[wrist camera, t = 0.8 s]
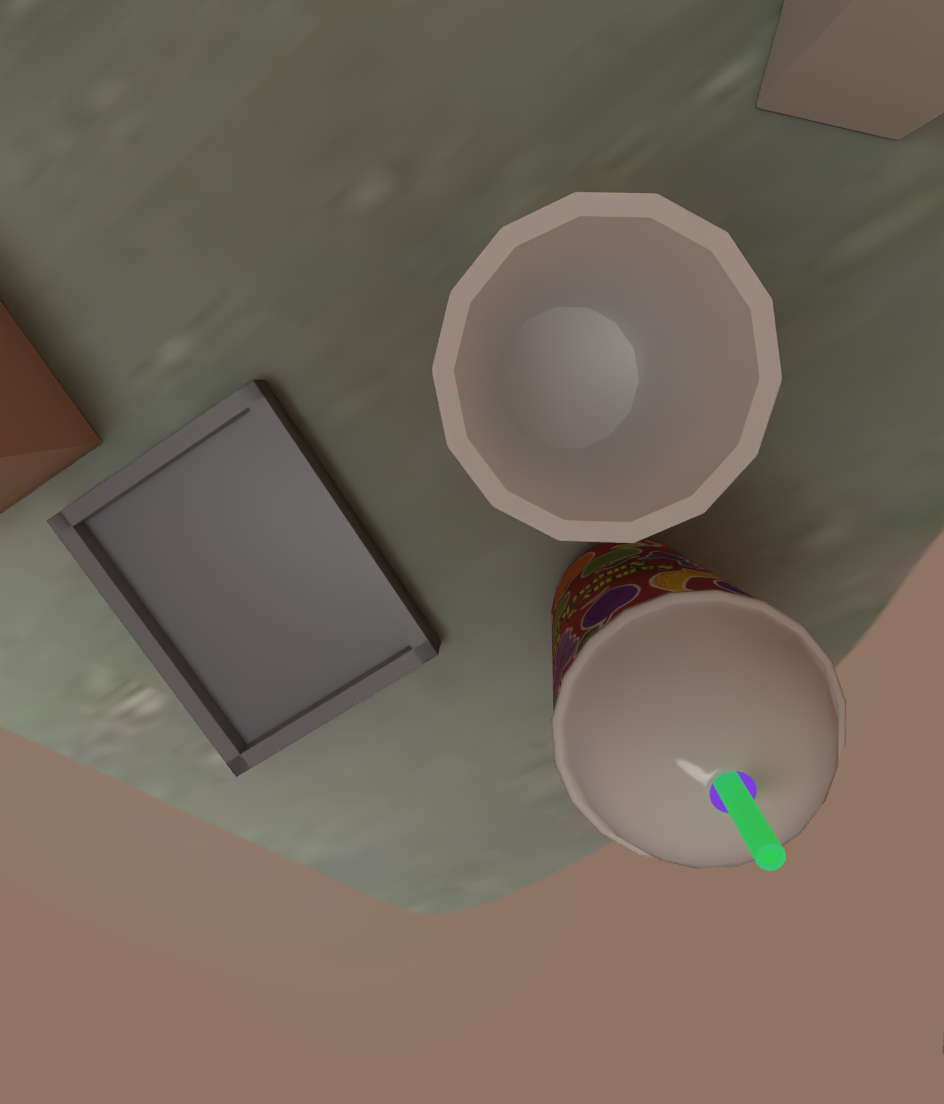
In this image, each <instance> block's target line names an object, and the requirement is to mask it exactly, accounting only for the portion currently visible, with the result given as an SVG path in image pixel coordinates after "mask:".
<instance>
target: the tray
mask: <svg viewBox="0 0 944 1104" xmlns="http://www.w3.org/2000/svg"><path fill="white" fill-rule="evenodd" d="M47 522H48V524H49V525H50V526H51V528H52V529H53V530H54V532H55V533H56V534H57V536H58V537H59V538H60V540H61V541H62V542H63V544H64V545H65V547H66V548H67V549H68V551H69V552H70V553H71V555H72V556H73V557H74V559H75V560H76V561H77V563H78V564H79V565H80V567H81V568H82V569H83V571H84V572H85V574H86V575H87V576H88V578H89V579H90V580H91V582H92V583H93V584H94V586H95V587H96V588H97V590H98V591H99V592H100V594H101V595H102V596H103V598H104V599H105V600H106V602H107V603H108V605H109V606H110V607H111V609H112V610H113V611H114V613H115V614H116V615H117V617H118V618H119V619H120V621H121V622H122V623H123V625H124V626H125V627H126V629H127V630H128V631H129V633H130V634H131V636H132V637H133V638H134V640H135V641H136V642H137V644H138V645H139V646H140V648H141V649H142V650H143V652H144V653H145V654H146V656H147V657H148V658H149V660H150V661H151V663H152V664H153V665H154V667H155V668H156V669H157V671H158V672H159V673H160V675H161V676H162V677H163V679H164V680H165V681H166V683H167V684H168V685H169V687H170V688H171V689H172V691H173V692H174V694H175V695H176V696H177V698H178V699H179V700H180V702H181V703H182V704H183V706H184V707H185V708H186V710H187V711H188V712H189V714H190V715H191V716H192V718H193V719H194V720H195V722H196V723H197V725H198V726H199V727H200V729H201V730H202V731H203V733H204V734H205V735H206V737H207V738H208V739H209V741H210V742H211V743H212V745H213V746H214V747H215V749H216V750H217V752H218V753H219V754H220V756H221V757H222V758H223V760H224V761H225V762H226V764H227V765H228V766H229V768H230V769H231V770H232V772H233V773H234V774H235V776H236V777H237V776H239V775H240V774H242V773H244V772H245V771H247V770H249V769H250V768H252V767H254V766H255V765H257V764H258V763H260V762H262V761H263V760H265V759H267V758H268V757H270V756H272V755H273V754H275V753H277V752H278V751H280V750H282V749H283V748H285V747H287V746H288V745H290V744H292V743H293V742H295V741H296V740H298V739H300V738H301V737H303V736H305V735H306V734H308V733H310V732H311V731H313V730H315V729H316V728H318V727H320V726H321V725H323V724H325V723H326V722H328V721H329V720H331V719H333V718H334V717H336V716H338V715H339V714H341V713H343V712H344V711H346V710H348V709H349V708H351V707H353V706H354V705H356V704H358V703H359V702H361V701H363V700H364V699H366V698H367V697H369V696H371V695H372V694H374V693H376V692H377V691H379V690H381V689H382V688H384V687H386V686H387V685H389V684H391V683H392V682H394V681H396V680H397V679H399V678H401V677H402V676H404V675H405V674H407V673H409V672H410V671H412V670H414V669H415V668H417V667H419V666H420V665H422V664H424V663H425V662H427V661H429V660H430V659H432V658H434V657H435V656H437V655H438V652H439V648H440V643H441V642H440V640H439V639H438V637H437V636H436V634H435V633H434V631H433V630H432V628H431V627H430V625H429V624H428V622H427V621H426V619H425V618H424V616H423V615H422V613H421V612H420V610H419V609H418V607H417V606H416V604H415V603H414V602H413V600H412V599H411V597H410V596H409V594H408V593H407V591H406V590H405V588H404V587H403V585H402V584H401V582H400V581H399V579H398V578H397V576H396V575H395V573H394V572H393V570H392V569H391V567H390V566H389V564H388V563H387V561H386V560H385V558H384V557H383V555H382V554H381V552H380V551H379V549H378V548H377V546H376V545H375V543H374V542H373V540H372V539H371V537H370V536H369V534H368V533H367V531H366V530H365V529H364V527H363V526H362V524H361V523H360V521H359V520H358V518H357V517H356V515H355V514H354V512H353V511H352V509H351V508H350V506H349V505H348V503H347V502H346V500H345V499H344V497H343V496H342V494H341V493H340V491H339V490H338V488H337V487H336V485H335V484H334V482H333V481H332V479H331V478H330V476H329V475H328V473H327V472H326V470H325V469H324V467H323V466H322V464H321V463H320V461H319V460H318V458H317V457H316V456H315V454H314V453H313V451H312V450H311V448H310V447H309V445H308V444H307V442H306V441H305V439H304V438H303V436H302V435H301V433H300V432H299V430H298V429H297V427H296V426H295V424H294V423H293V421H292V420H291V418H290V417H289V415H288V414H287V412H286V411H285V409H284V408H283V406H282V405H281V403H280V402H279V400H278V399H277V397H276V396H275V394H274V393H273V391H272V390H271V388H270V387H269V385H268V384H267V383H266V381H265V380H251V381H250V382H249V383H247V384H246V385H244V386H243V387H241V388H240V389H238V390H237V391H235V392H234V393H232V394H231V395H230V396H228V397H227V398H225V399H224V400H222V401H221V402H219V403H218V404H216V405H215V406H213V407H212V408H211V409H209V410H208V411H206V412H205V413H203V414H202V415H200V416H199V417H197V418H196V419H194V420H193V421H192V422H190V423H189V424H187V425H186V426H184V427H183V428H181V429H180V430H178V431H177V432H175V433H174V434H173V435H171V436H170V437H168V438H167V439H165V440H164V441H162V442H161V443H159V444H158V445H156V446H155V447H154V448H152V449H151V450H149V451H148V452H146V453H145V454H143V455H142V456H140V457H139V458H138V459H136V460H135V461H133V462H132V463H130V464H129V465H127V466H126V467H124V468H123V469H121V470H120V471H119V472H117V473H116V474H114V475H113V476H111V477H110V478H108V479H107V480H105V481H104V482H102V483H101V484H100V485H98V486H97V487H95V488H94V489H92V490H91V491H89V492H88V493H86V494H85V495H83V496H82V497H81V498H79V499H78V500H76V501H75V502H73V503H72V504H70V505H69V506H67V507H66V508H64V509H63V510H62V511H60V512H59V513H57V514H56V515H54V516H53V517H51V518H50V519H48V520H47Z"/></svg>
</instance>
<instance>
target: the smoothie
mask: <svg viewBox="0 0 944 1104" xmlns="http://www.w3.org/2000/svg"><path fill="white" fill-rule="evenodd" d="M552 656H553V710H554V712H553V715H552V734H553V748H554V762H555V765H556V767H557V769H558V772H559V774H560V776H561V779H562V781H563V783H564V786H565V788H566V791H567V793H568V795H569V798H570V800H571V802H572V803H573V804H574V805H575V806H576V807H577V808H578V809H579V810H580V811H581V813H582V814H583V815H584V816H585V817H586V818H587V819H588V820H589V821H590V823H591V824H592V825H593V826H594V827H595V828H596V829H597V830H598V831H599V832H600V833H602V834H603V835H605V836H607V837H608V838H610V839H612V840H614V841H615V842H617V843H619V844H620V845H622V846H624V847H626V848H627V849H629V850H631V851H632V852H634V853H636V854H639V855H643V856H648V857H652V858H657V859H658V860H661V861H666V862H670V863H674V864H679V865H683V866H688V867H692V868H712V867H731V866H740V865H743V864H745V863H748V862H751V861H754V860H755V862H756V863H757V865H759V866H760V867H761V868H762V869H764V870H771V871H774V870H776V869H777V868H779V867H781V866H782V865H783V863H784V862H785V860H786V855H785V850H784V848H783V847H782V846H784V845H785V844H787V843H788V842H790V841H791V840H792V839H794V838H795V837H797V836H798V835H799V834H800V833H801V832H802V831H803V830H804V828H805V827H806V826H807V824H808V823H809V822H810V820H811V819H812V818H813V817H814V815H815V814H816V813H817V811H818V810H819V809H820V807H821V806H822V805H823V804H824V802H825V800H826V798H827V795H828V792H829V789H830V787H831V784H832V781H833V778H834V775H835V773H836V770H837V767H838V763H839V760H840V758H841V755H842V752H843V749H844V746H845V710H846V708H845V707H846V701H845V698H844V695H843V692H842V689H841V686H840V683H839V680H838V678H837V675H836V672H835V669H834V666H833V663H832V660H831V659H830V657H829V656H828V655H827V654H826V652H825V651H824V650H823V649H822V648H821V646H820V645H819V644H818V643H817V642H816V640H815V639H814V638H813V637H812V635H811V634H810V633H809V632H808V631H807V629H806V628H805V627H804V626H803V625H802V624H800V623H799V622H797V621H796V620H794V619H792V618H791V617H789V616H788V615H786V614H784V613H783V612H781V611H779V610H778V609H776V608H775V607H773V606H771V605H770V604H768V603H767V602H765V601H763V600H760V599H755V598H754V597H752V596H750V595H749V594H747V593H745V592H743V591H742V590H740V589H738V588H737V587H735V586H733V585H732V584H730V583H728V582H727V581H725V580H723V579H722V578H720V577H718V576H717V575H715V574H713V573H712V572H710V571H708V570H707V569H705V568H703V567H702V566H700V565H698V564H696V563H695V562H693V561H691V560H690V559H688V558H686V557H685V556H683V555H682V554H680V553H678V552H676V551H675V550H673V549H671V548H669V547H668V546H666V545H664V544H662V543H660V542H656V541H651V540H646V539H642V540H640V541H637V542H635V543H619V542H606V543H604V544H601V545H599V546H597V547H594V548H592V549H590V550H588V551H587V552H586V553H584V554H583V555H582V556H581V557H580V558H579V559H578V560H576V561H575V562H574V563H573V564H572V565H571V566H570V567H569V568H568V570H567V571H566V573H565V575H564V576H563V578H562V580H561V581H560V583H559V585H558V586H557V588H556V593H555V597H554V602H553V606H552Z"/></svg>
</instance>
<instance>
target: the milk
mask: <svg viewBox="0 0 944 1104" xmlns="http://www.w3.org/2000/svg"><path fill="white" fill-rule="evenodd" d="M756 107H757V108H760V109H764V110H768V111H773V112H777V113H781V114H786V115H790V116H794V117H799V118H803V119H807V120H812V121H816V122H820V123H824V124H829V125H833V126H837V127H842V128H846V129H850V130H855V131H859V132H863V133H868V134H872V135H876V136H880V137H885V138H889V139H893V140H899V139H901V138H903V137H905V136H906V135H908V134H910V133H911V132H913V131H914V130H916V129H918V128H919V127H921V126H923V125H924V124H926V123H928V122H929V121H931V120H932V119H934V118H936V117H937V116H939V115H941V114H942V113H944V0H784V3H783V6H782V10H781V14H780V18H779V21H778V25H777V29H776V33H775V36H774V40H773V44H772V47H771V51H770V55H769V59H768V62H767V66H766V70H765V73H764V77H763V81H762V85H761V88H760V92H759V96H758V99H757V103H756Z"/></svg>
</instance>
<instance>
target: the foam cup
mask: <svg viewBox="0 0 944 1104" xmlns="http://www.w3.org/2000/svg"><path fill="white" fill-rule="evenodd" d="M432 374H433V379H434V384H435V389H436V394H437V399H438V404H439V408H440V413H441V418H442V423H443V428H444V433H445V437H446V442H447V447H448V448H449V449H450V451H451V452H452V453H453V455H454V456H455V457H456V459H457V460H458V461H459V462H460V464H461V465H462V466H463V468H464V469H465V470H466V472H467V473H468V474H469V476H470V477H471V478H472V480H473V481H474V482H475V484H476V485H477V486H478V488H479V489H480V490H481V492H482V493H483V494H484V496H485V497H486V498H487V500H488V501H489V502H490V504H491V505H492V506H493V507H495V508H497V509H498V510H500V511H502V512H504V513H506V514H508V515H510V516H512V517H514V518H516V519H518V520H520V521H522V522H524V523H526V524H528V525H530V526H531V527H533V528H535V529H537V530H539V531H541V532H543V533H545V534H547V535H549V536H551V537H553V538H555V539H557V540H559V541H587V542H619V543H635V542H637V541H640V540H642V539H644V538H647V537H649V536H651V535H654V534H656V533H658V532H661V531H663V530H665V529H668V528H670V527H672V526H675V525H677V524H679V523H682V522H684V521H686V520H689V519H691V518H693V517H696V516H698V515H701V514H703V513H705V512H706V510H707V509H708V508H709V507H710V506H711V505H712V504H713V503H714V502H715V501H716V500H717V498H718V497H719V496H720V495H721V494H722V493H723V492H724V491H725V490H726V489H727V488H728V486H729V485H730V484H731V483H732V482H733V481H734V480H735V479H736V478H737V477H738V476H739V474H740V473H741V472H742V471H743V470H744V469H745V468H746V467H747V466H748V465H749V464H750V462H751V461H752V460H753V459H754V458H755V457H756V456H757V455H758V451H759V448H760V445H761V442H762V439H763V436H764V433H765V430H766V427H767V424H768V421H769V418H770V415H771V412H772V409H773V406H774V403H775V399H776V396H777V393H778V390H779V387H780V384H781V381H782V374H781V366H780V358H779V350H778V342H777V334H776V326H775V318H774V310H773V302H772V298H771V297H770V295H769V294H768V292H767V291H766V289H765V288H764V286H763V285H762V283H761V282H760V280H759V279H758V277H757V276H756V274H755V273H754V271H753V270H752V268H751V267H750V265H749V264H748V262H747V261H746V259H745V258H744V256H743V255H742V253H741V252H740V250H739V249H738V247H737V246H736V244H735V243H734V241H733V240H732V238H731V237H730V235H729V234H728V232H726V231H724V230H723V229H721V228H719V227H717V226H715V225H713V224H712V223H710V222H708V221H706V220H704V219H703V218H701V217H699V216H697V215H695V214H693V213H692V212H690V211H688V210H686V209H684V208H683V207H681V206H679V205H677V204H675V203H673V202H672V201H670V200H668V199H666V198H664V197H663V196H661V195H659V194H656V193H606V192H574V193H572V194H570V195H568V196H566V197H564V198H562V199H560V200H558V201H556V202H554V203H552V204H550V205H547V206H545V207H543V208H541V209H539V210H537V211H535V212H533V213H531V214H529V215H527V216H525V217H523V218H520V219H518V220H516V221H514V222H512V223H510V224H508V225H506V226H504V227H502V228H501V229H500V230H499V231H498V233H497V234H496V235H495V236H494V238H493V239H492V240H491V241H490V243H489V244H488V245H487V246H486V248H485V249H484V250H483V251H482V253H481V254H480V255H479V256H478V258H477V259H476V260H475V262H474V263H473V264H472V265H471V267H470V268H469V269H468V270H467V272H466V273H465V274H464V275H463V277H462V278H461V279H460V280H459V282H458V283H457V284H456V285H455V287H454V288H453V289H452V290H451V292H450V295H449V299H448V304H447V308H446V312H445V316H444V320H443V325H442V329H441V333H440V337H439V341H438V346H437V350H436V354H435V358H434V362H433V366H432Z"/></svg>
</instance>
